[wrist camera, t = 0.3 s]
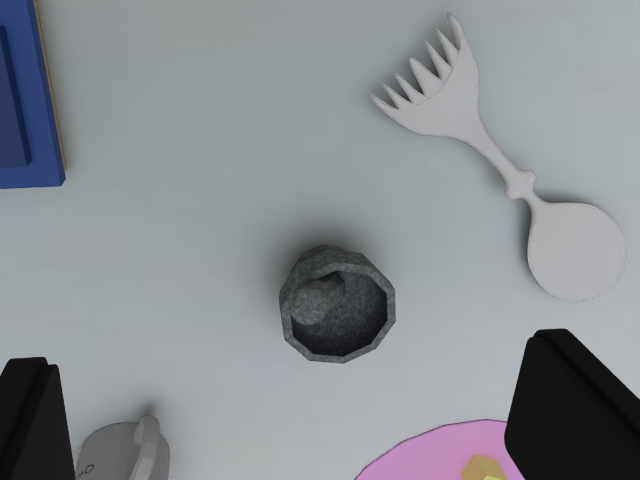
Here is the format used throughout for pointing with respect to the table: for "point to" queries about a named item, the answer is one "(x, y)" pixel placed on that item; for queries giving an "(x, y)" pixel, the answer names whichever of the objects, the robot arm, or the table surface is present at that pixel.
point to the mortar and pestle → (336, 305)
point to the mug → (125, 453)
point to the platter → (448, 455)
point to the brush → (26, 103)
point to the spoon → (511, 176)
